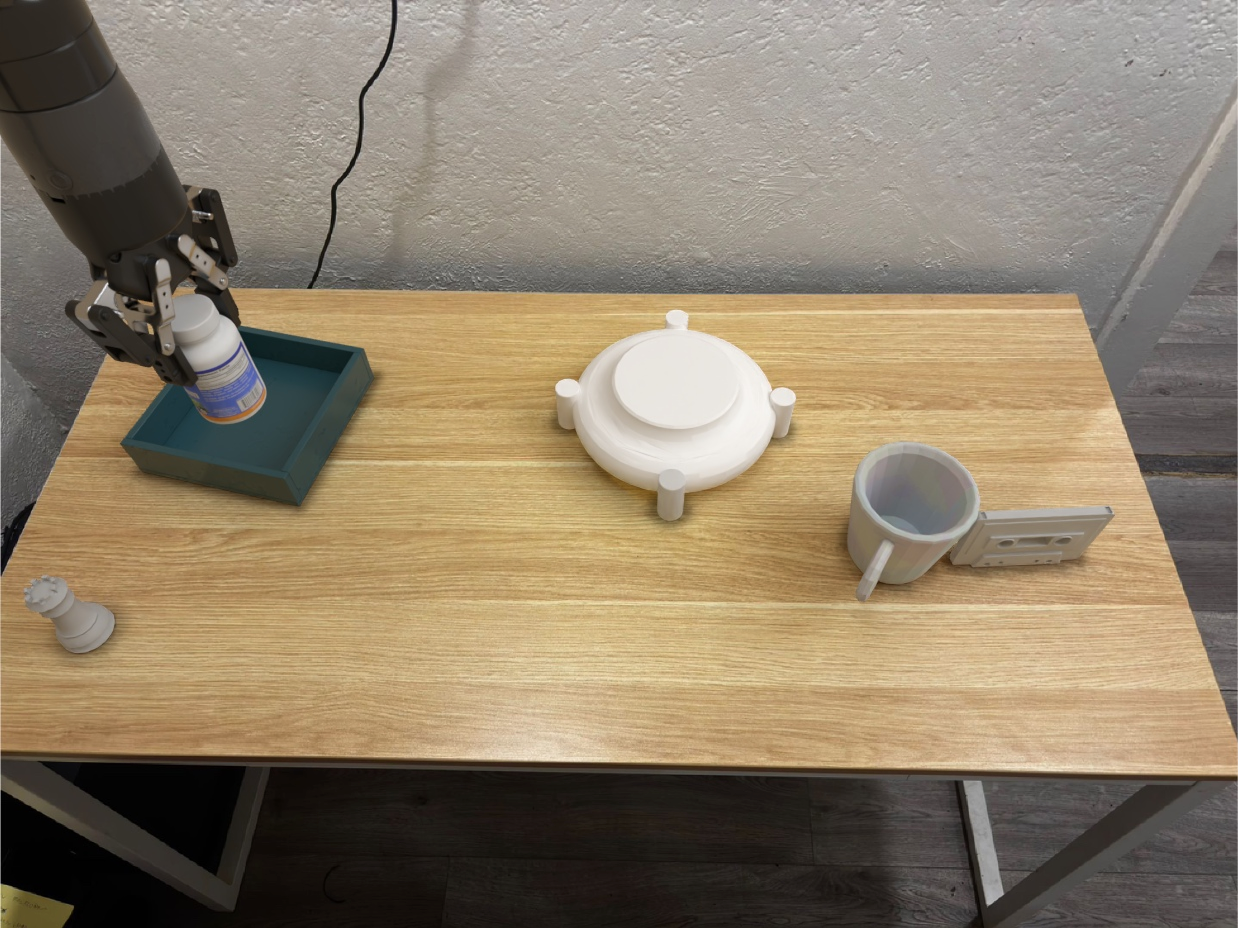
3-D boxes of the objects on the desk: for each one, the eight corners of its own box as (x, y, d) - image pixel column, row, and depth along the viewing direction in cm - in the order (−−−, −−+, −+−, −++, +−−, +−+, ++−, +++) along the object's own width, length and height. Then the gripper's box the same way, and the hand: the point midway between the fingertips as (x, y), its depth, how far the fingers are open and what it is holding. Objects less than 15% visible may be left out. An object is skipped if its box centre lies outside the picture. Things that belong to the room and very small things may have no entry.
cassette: (1073, 546, 78) (1111, 500, 72) (1080, 564, 77) (1120, 518, 71) (946, 552, 78) (973, 506, 72) (951, 570, 77) (979, 524, 70)
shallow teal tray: (299, 506, 82) (284, 479, 78) (141, 471, 84) (119, 443, 81) (374, 377, 92) (364, 347, 88) (231, 350, 94) (215, 320, 91)
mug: (961, 535, 79) (999, 473, 71) (901, 660, 71) (935, 606, 63) (858, 486, 82) (883, 422, 74) (791, 600, 75) (810, 542, 67)
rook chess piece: (73, 665, 72) (19, 624, 65) (57, 629, 74) (2, 585, 68) (125, 635, 74) (77, 591, 67) (107, 600, 76) (59, 554, 69)
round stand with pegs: (545, 515, 81) (539, 471, 75) (569, 339, 95) (565, 291, 89) (795, 527, 80) (808, 483, 74) (781, 347, 94) (791, 299, 88)
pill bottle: (194, 390, 68) (138, 299, 60) (261, 368, 70) (215, 277, 62) (206, 436, 65) (149, 347, 57) (275, 412, 67) (229, 322, 59)
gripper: (112, 82, 54) (214, 284, 68) (-49, 215, 46) (105, 414, 60) (213, 98, 53) (298, 300, 67) (68, 237, 45) (198, 435, 58)
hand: (206, 353), depth 63 cm, fingers closed on pill bottle, 5 cm apart
